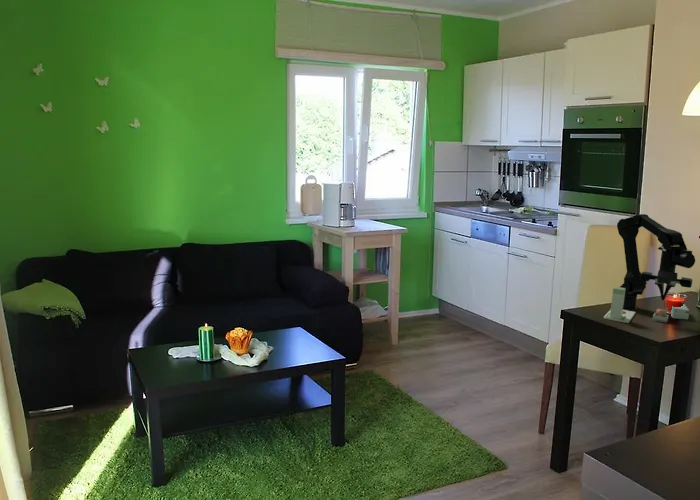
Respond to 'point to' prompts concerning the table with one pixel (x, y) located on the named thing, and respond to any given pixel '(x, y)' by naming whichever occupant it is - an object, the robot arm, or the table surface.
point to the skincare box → (680, 312)
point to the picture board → (625, 317)
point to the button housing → (660, 318)
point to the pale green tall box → (617, 302)
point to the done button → (661, 312)
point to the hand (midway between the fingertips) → (662, 299)
